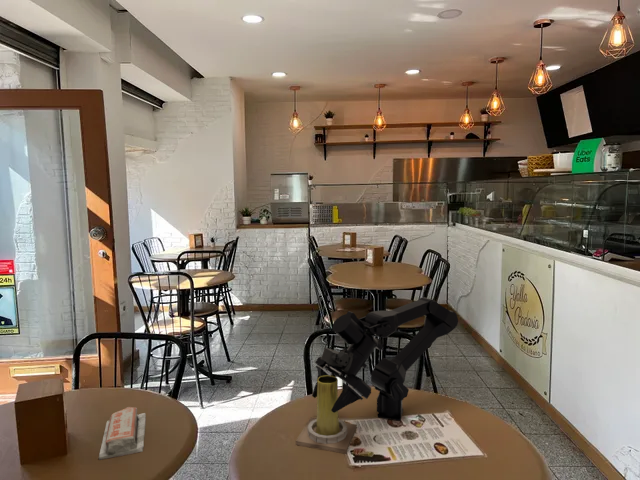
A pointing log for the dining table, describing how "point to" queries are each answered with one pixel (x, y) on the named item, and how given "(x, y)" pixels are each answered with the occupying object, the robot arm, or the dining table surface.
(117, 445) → the packaged product
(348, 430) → the socket board
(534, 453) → the dining table surface
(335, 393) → the vase
